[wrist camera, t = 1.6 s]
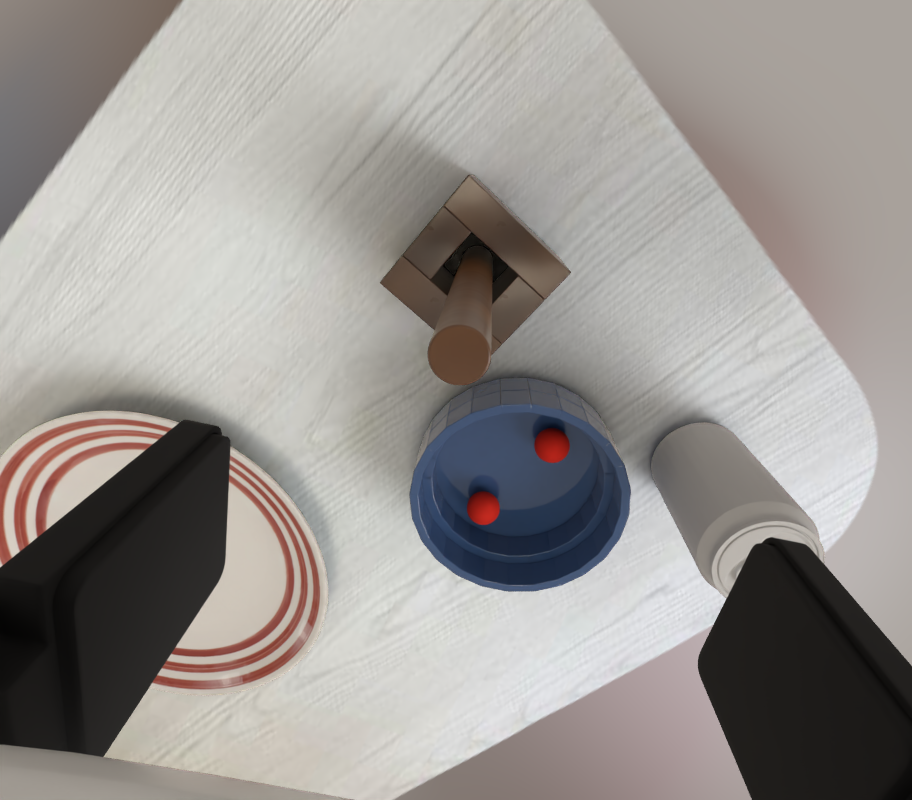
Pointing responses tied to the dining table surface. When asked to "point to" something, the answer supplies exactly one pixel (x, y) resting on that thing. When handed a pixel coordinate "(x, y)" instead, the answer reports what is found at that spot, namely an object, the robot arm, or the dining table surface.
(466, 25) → the dining table surface
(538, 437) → the tomato
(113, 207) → the dining table surface
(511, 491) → the bowl
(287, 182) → the dining table surface
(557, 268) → the holder
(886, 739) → the robot arm
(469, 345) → the stirring stick
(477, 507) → the tomato
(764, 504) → the beverage can
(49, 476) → the dinner plate
